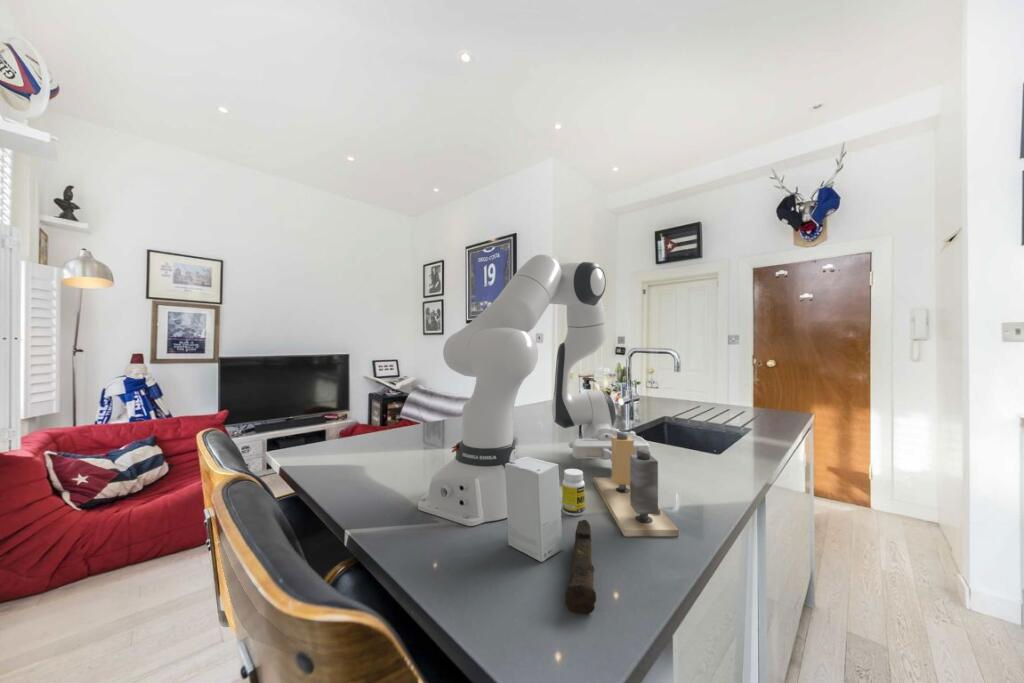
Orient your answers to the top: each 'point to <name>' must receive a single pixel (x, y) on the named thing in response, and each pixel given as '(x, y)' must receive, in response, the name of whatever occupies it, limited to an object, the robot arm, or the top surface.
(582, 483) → the supplement bottle
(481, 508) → the robot arm
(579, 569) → the hand tool
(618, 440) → the block
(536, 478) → the skincare box
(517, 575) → the top surface
